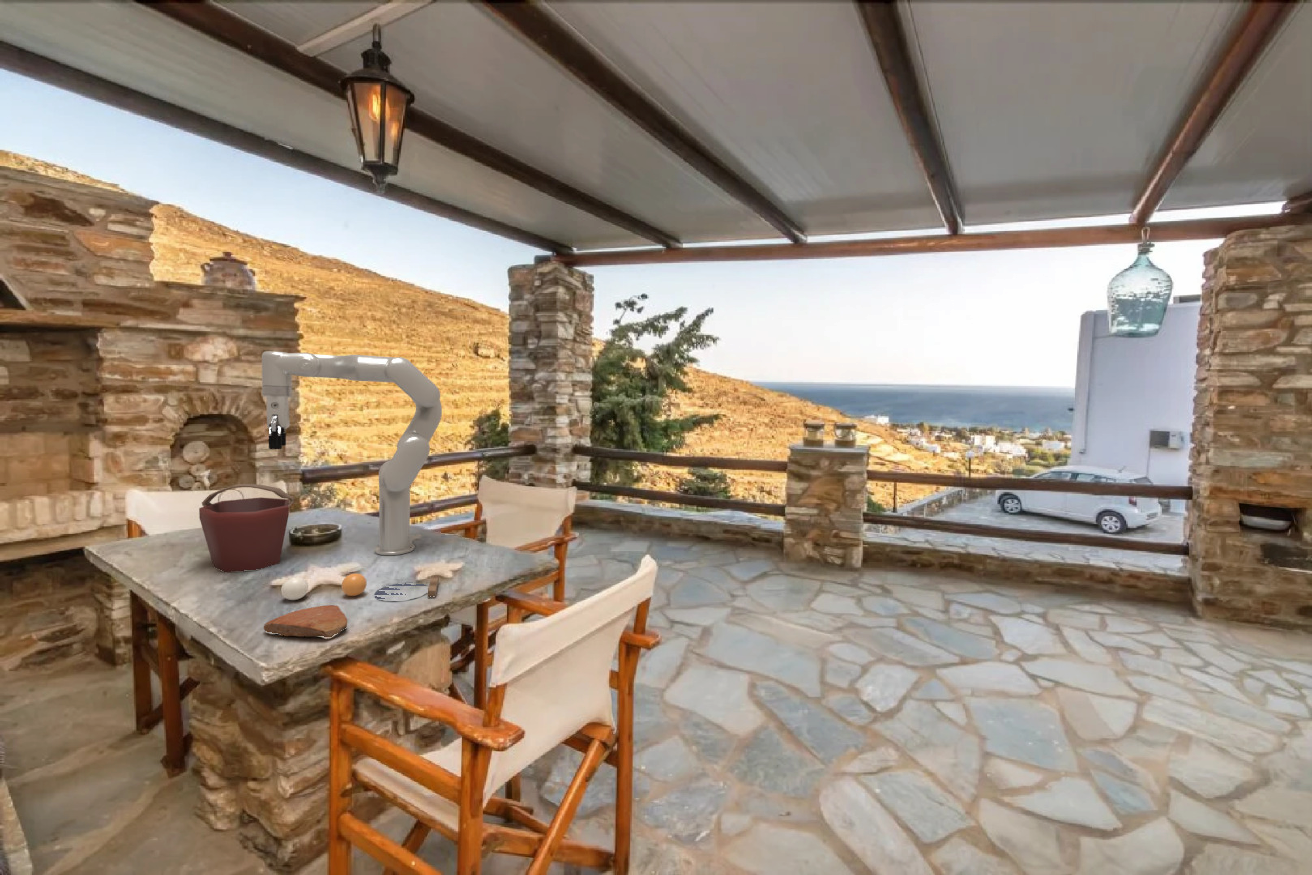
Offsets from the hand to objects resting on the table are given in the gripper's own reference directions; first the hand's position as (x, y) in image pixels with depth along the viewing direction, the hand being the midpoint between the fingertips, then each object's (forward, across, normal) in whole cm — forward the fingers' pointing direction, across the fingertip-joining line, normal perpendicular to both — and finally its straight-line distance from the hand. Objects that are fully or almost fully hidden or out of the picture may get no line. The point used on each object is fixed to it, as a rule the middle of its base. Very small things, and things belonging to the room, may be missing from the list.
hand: (277, 447), depth 168 cm
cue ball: (+34, -36, -8) cm, 50 cm away
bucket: (+37, +1, +8) cm, 38 cm away
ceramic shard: (+37, -59, -13) cm, 71 cm away
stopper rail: (+36, -42, -41) cm, 69 cm away
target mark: (+36, -40, -33) cm, 64 cm away
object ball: (+34, -38, -21) cm, 55 cm away
